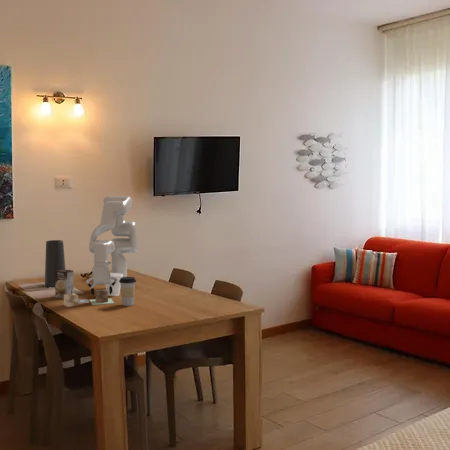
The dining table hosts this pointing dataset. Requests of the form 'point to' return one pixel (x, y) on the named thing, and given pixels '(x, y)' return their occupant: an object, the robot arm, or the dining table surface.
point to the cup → (117, 285)
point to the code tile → (83, 301)
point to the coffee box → (63, 283)
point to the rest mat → (101, 302)
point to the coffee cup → (127, 290)
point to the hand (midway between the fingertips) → (101, 294)
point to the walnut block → (101, 296)
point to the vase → (53, 260)
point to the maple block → (70, 300)
